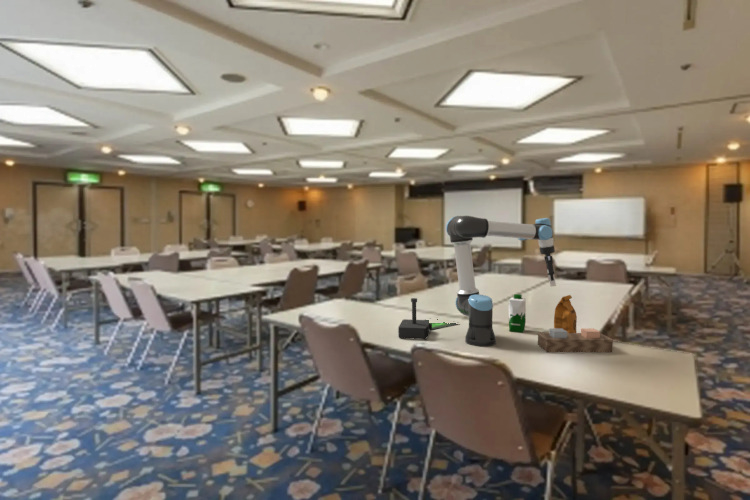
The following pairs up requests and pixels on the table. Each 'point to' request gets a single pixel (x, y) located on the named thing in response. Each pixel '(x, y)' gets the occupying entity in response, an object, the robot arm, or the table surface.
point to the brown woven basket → (575, 343)
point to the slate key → (558, 333)
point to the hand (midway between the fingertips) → (552, 283)
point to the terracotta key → (590, 333)
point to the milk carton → (517, 313)
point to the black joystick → (414, 326)
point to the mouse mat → (442, 325)
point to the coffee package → (565, 315)
